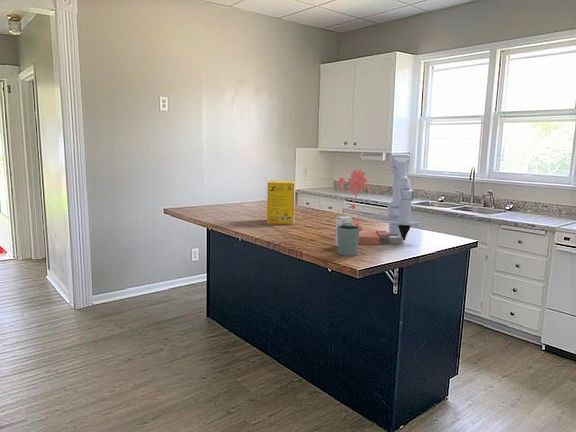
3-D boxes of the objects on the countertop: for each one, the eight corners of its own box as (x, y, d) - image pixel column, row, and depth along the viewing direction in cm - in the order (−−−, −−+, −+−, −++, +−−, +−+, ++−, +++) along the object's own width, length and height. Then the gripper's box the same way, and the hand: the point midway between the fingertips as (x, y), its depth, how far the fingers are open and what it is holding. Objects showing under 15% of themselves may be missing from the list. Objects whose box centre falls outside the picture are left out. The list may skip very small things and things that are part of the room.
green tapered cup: (346, 257, 189) (347, 229, 188) (331, 252, 197) (332, 226, 196) (363, 254, 195) (364, 227, 193) (347, 249, 203) (348, 224, 202)
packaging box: (269, 219, 285) (269, 180, 281) (294, 220, 284) (295, 181, 280) (266, 223, 269) (267, 182, 265) (293, 224, 268) (294, 183, 264)
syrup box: (340, 248, 207) (341, 217, 204) (335, 245, 212) (336, 215, 210) (351, 247, 208) (352, 217, 206) (346, 244, 214) (347, 215, 212)
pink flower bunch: (363, 237, 231) (368, 170, 227) (329, 230, 251) (332, 168, 247) (383, 235, 241) (387, 170, 236) (348, 228, 261) (351, 168, 256)
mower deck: (356, 237, 232) (356, 229, 232) (396, 238, 231) (397, 230, 230) (358, 243, 217) (359, 235, 216) (402, 245, 215) (402, 236, 215)
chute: (380, 241, 224) (380, 235, 224) (400, 242, 224) (400, 236, 224) (382, 243, 219) (382, 237, 219) (402, 244, 219) (403, 238, 219)
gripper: (391, 214, 217) (390, 241, 219) (421, 214, 216) (419, 242, 219) (389, 212, 224) (387, 238, 226) (418, 212, 223) (416, 239, 225)
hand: (403, 240), depth 223 cm, fingers closed
